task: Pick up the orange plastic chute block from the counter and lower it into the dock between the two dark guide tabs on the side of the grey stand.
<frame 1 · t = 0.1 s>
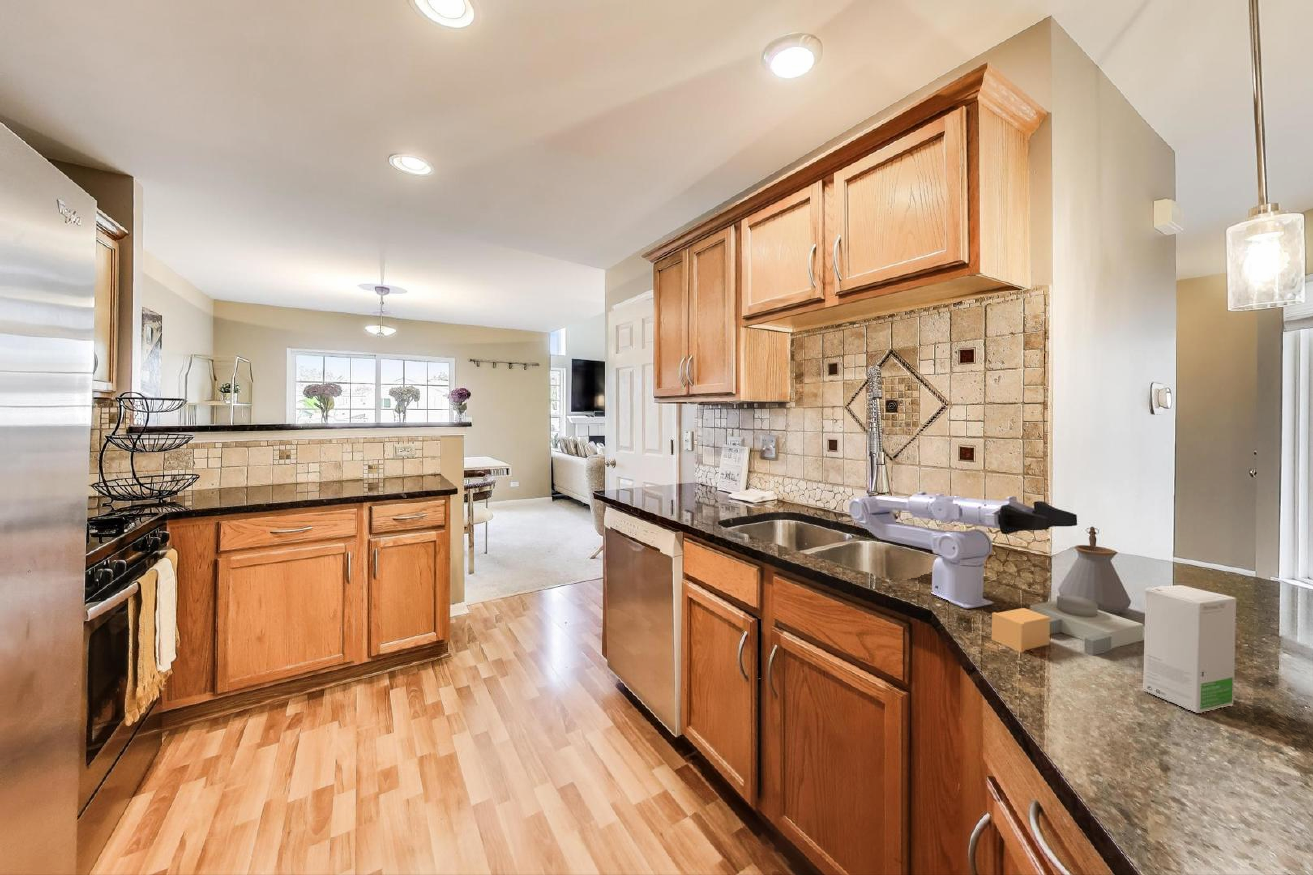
hand: (1061, 521, 88), 22 cm above the countertop, tool horizontal, fingers open, 7 cm apart
grey stand: (1083, 629, 92), on the countertop
chute: (1022, 641, 87), on the countertop
skincare box: (1185, 699, 70), on the countertop
coffee pot: (1092, 602, 106), on the countertop
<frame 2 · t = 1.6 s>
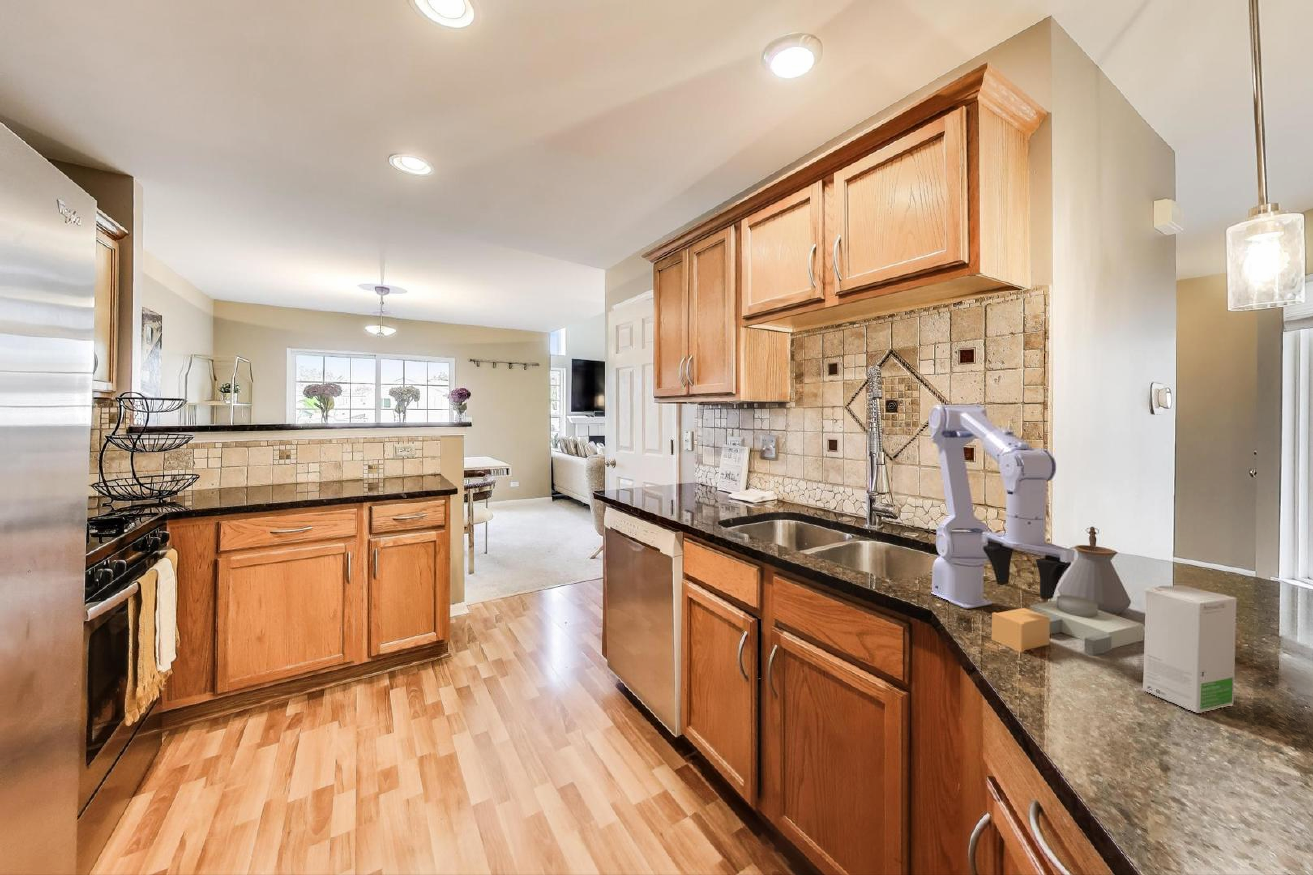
hand: (1023, 590, 87), 9 cm above the countertop, tool pointing down, fingers open, 7 cm apart
nothing on the countertop moved.
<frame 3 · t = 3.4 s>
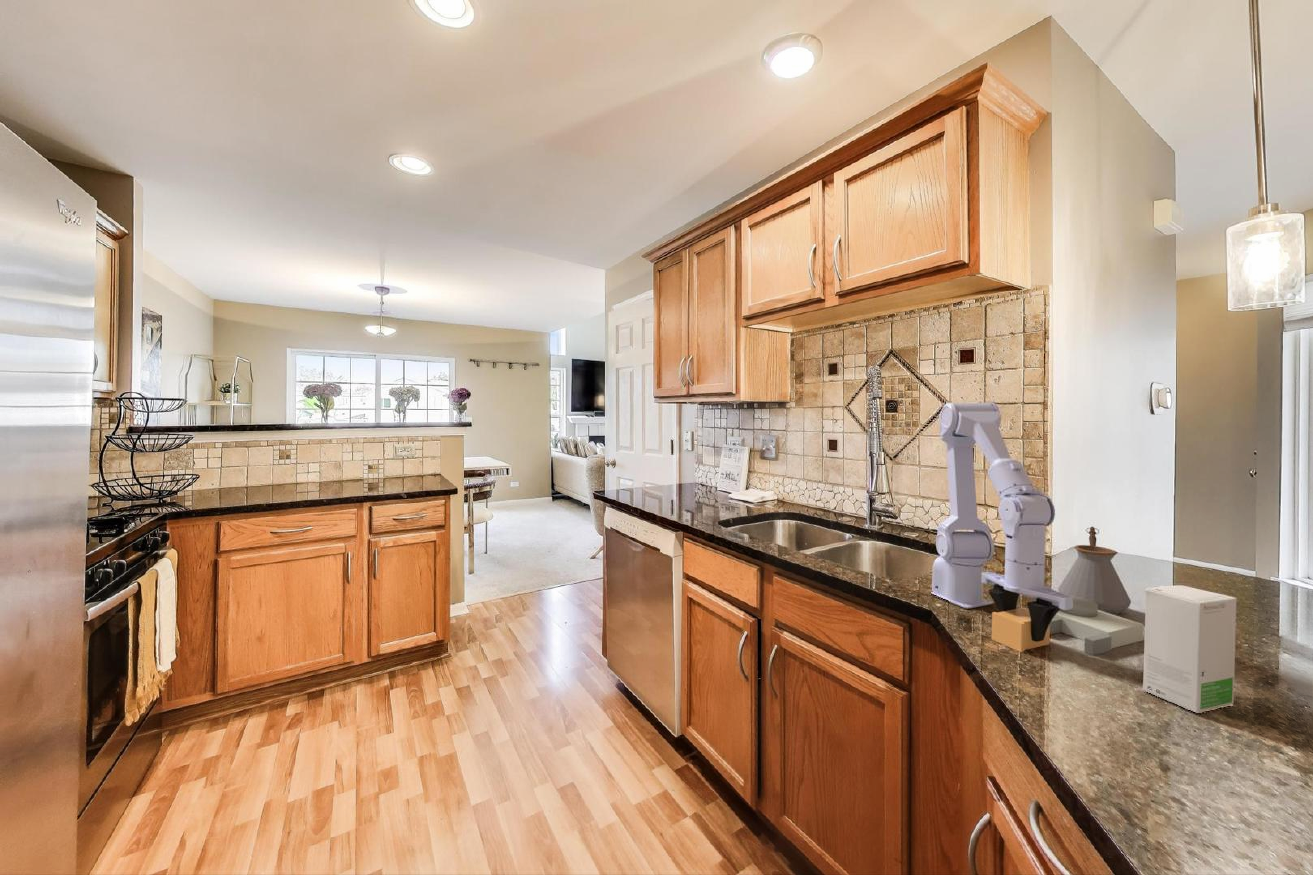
hand: (1022, 634, 87), 1 cm above the countertop, tool pointing down, fingers closed on chute, 4 cm apart
chute: (1022, 641, 87), on the countertop, touching gripper
everything else where it was.
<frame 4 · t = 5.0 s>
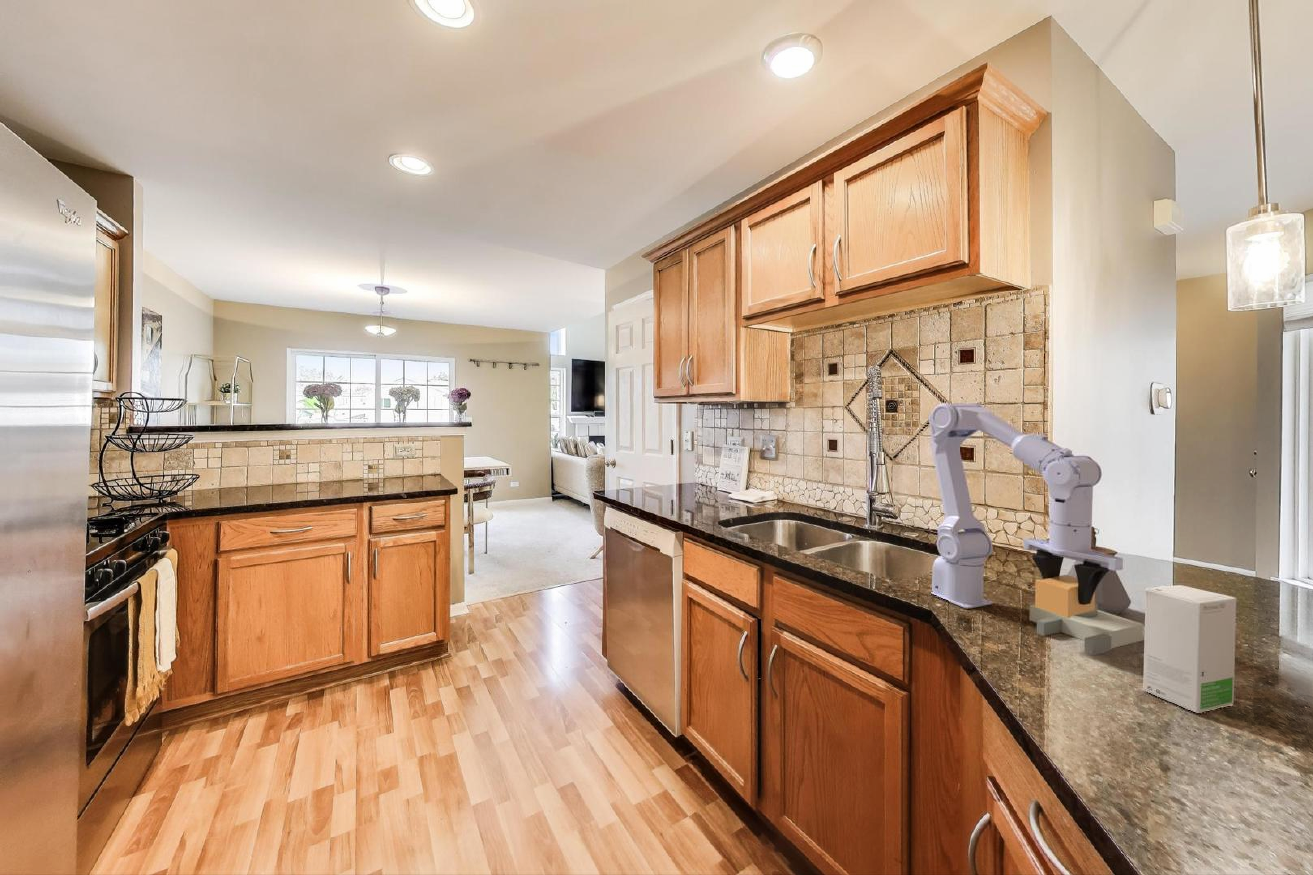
hand: (1068, 598, 87), 8 cm above the countertop, tool pointing down, fingers closed on chute, 4 cm apart
chute: (1067, 608, 87), point 6 cm above the countertop, touching gripper
everything else where it was.
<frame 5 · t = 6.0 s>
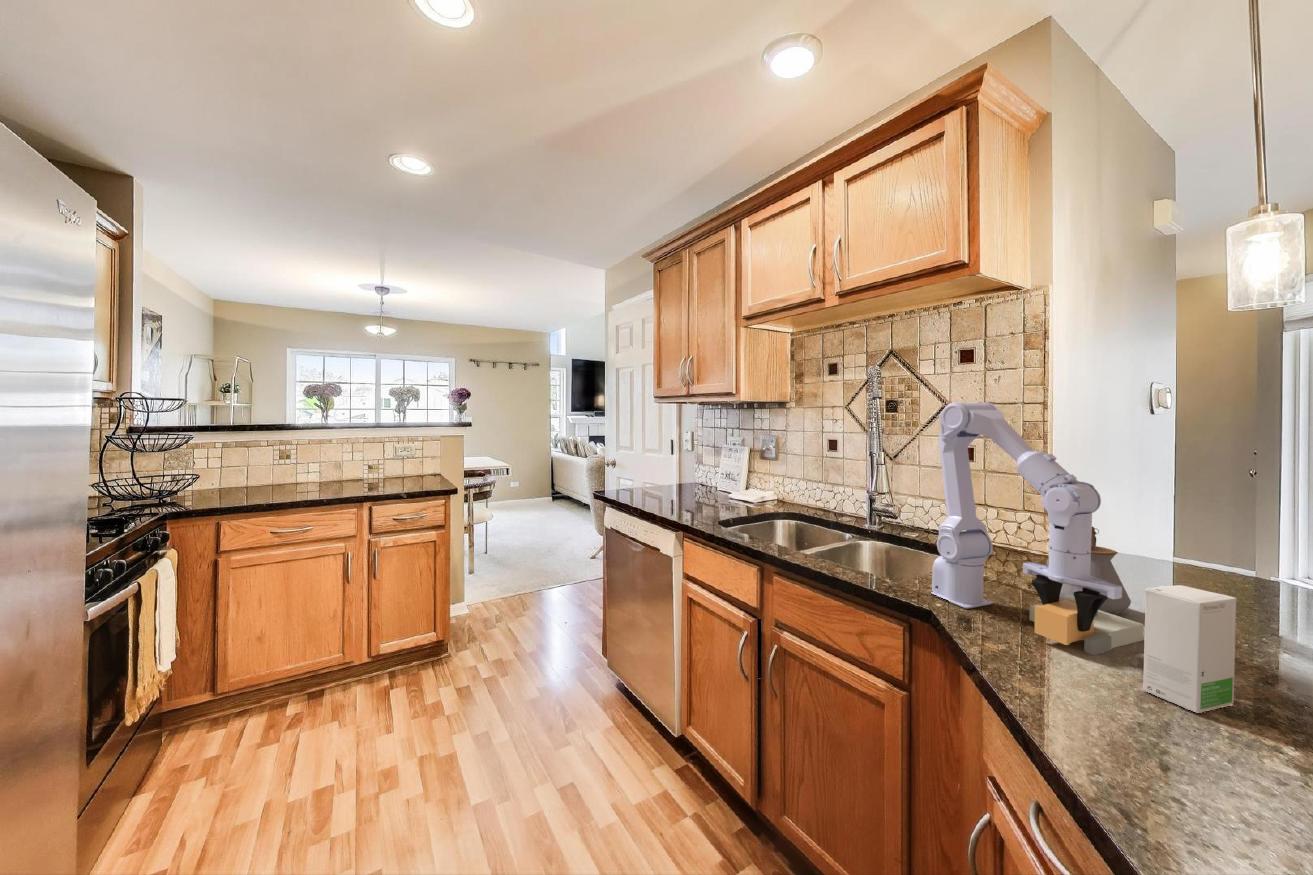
hand: (1067, 624, 87), 3 cm above the countertop, tool pointing down, fingers closed on chute, 4 cm apart
chute: (1066, 634, 87), point 2 cm above the countertop, touching gripper
everything else where it was.
when the fingers open (3 cm above the countertop, at t = 6.7 s): chute drops 2 cm, on the countertop.
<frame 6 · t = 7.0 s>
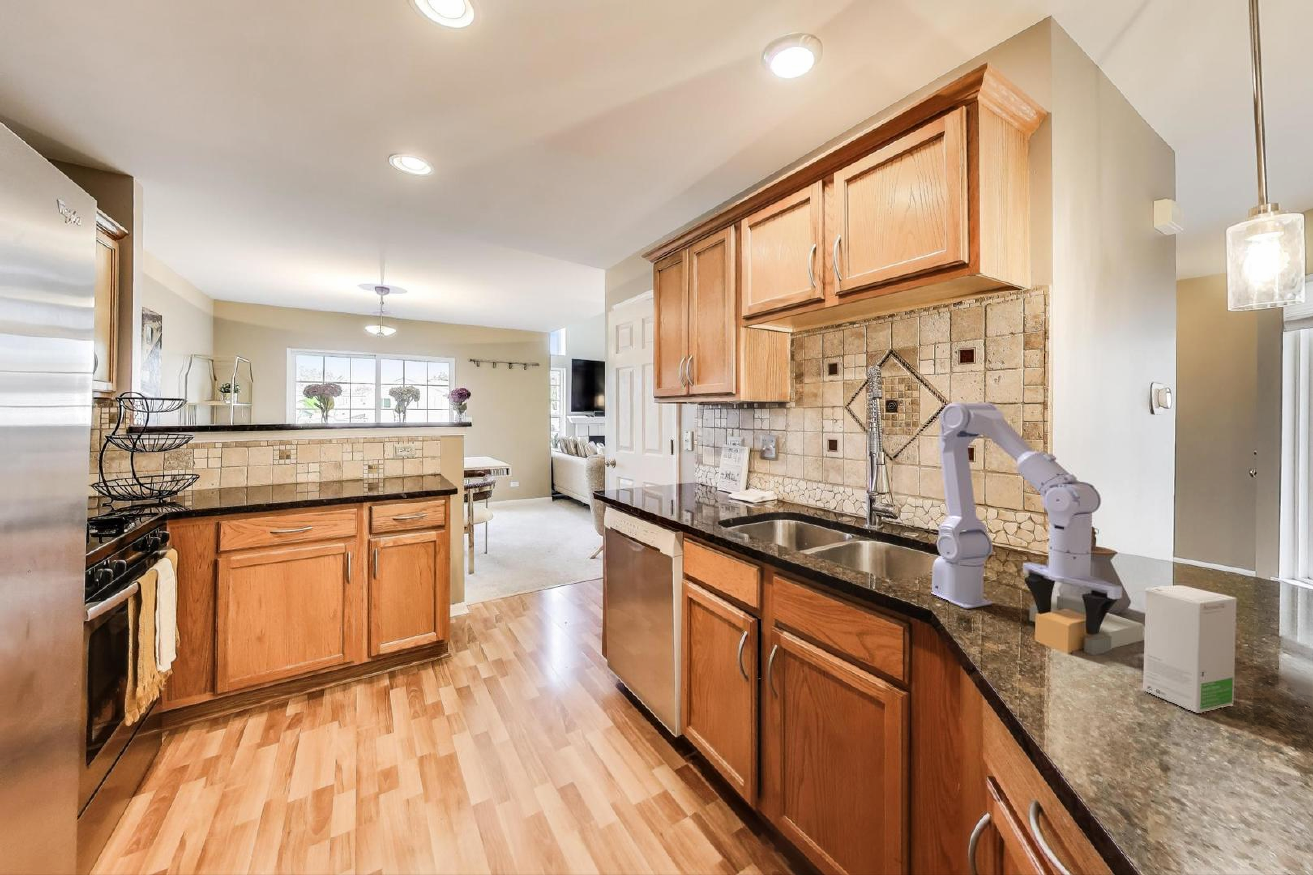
hand: (1067, 624, 87), 3 cm above the countertop, tool pointing down, fingers open, 7 cm apart
chute: (1066, 643, 87), on the countertop
everything else where it was.
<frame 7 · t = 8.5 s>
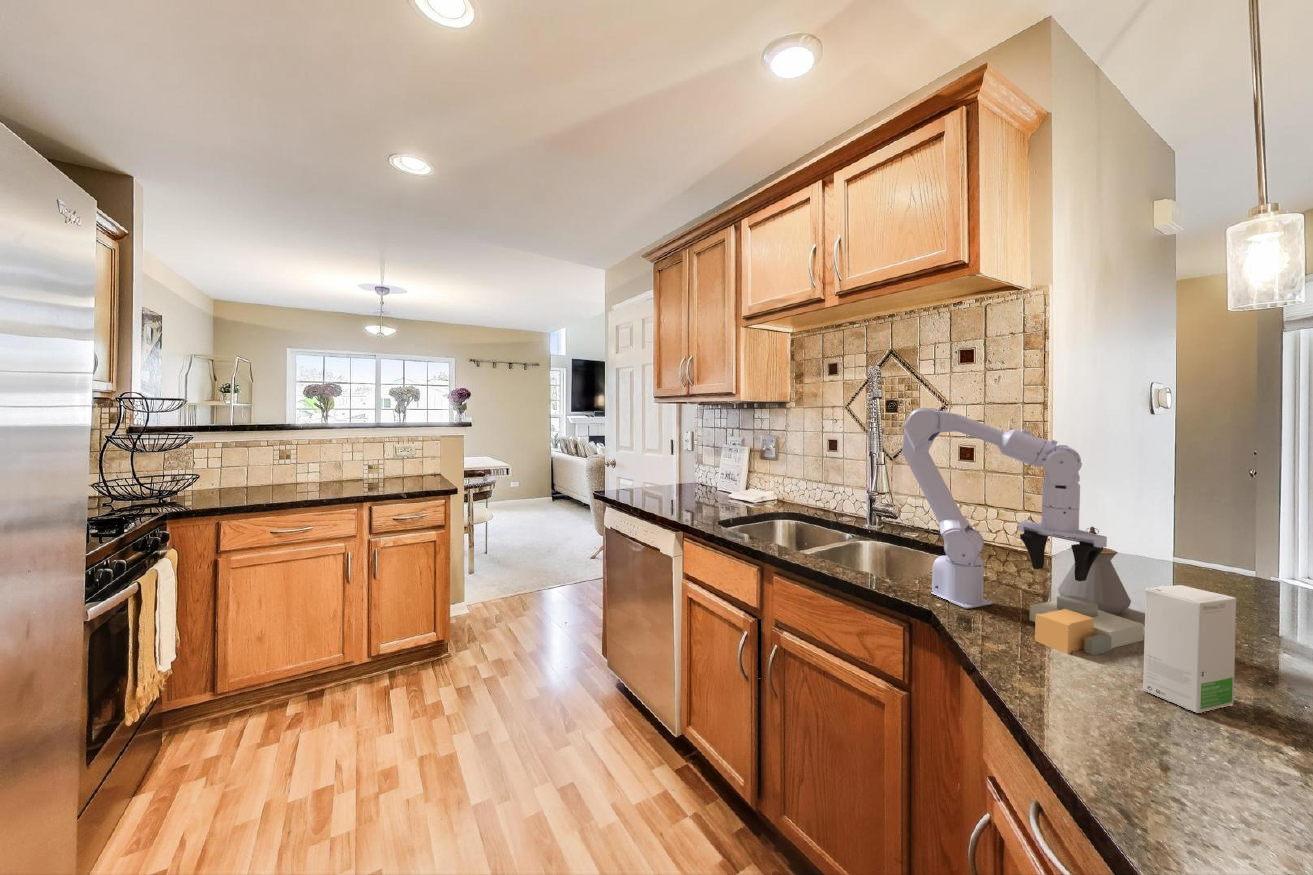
hand: (1058, 574, 96), 9 cm above the countertop, tool pointing down, fingers open, 7 cm apart
nothing on the countertop moved.
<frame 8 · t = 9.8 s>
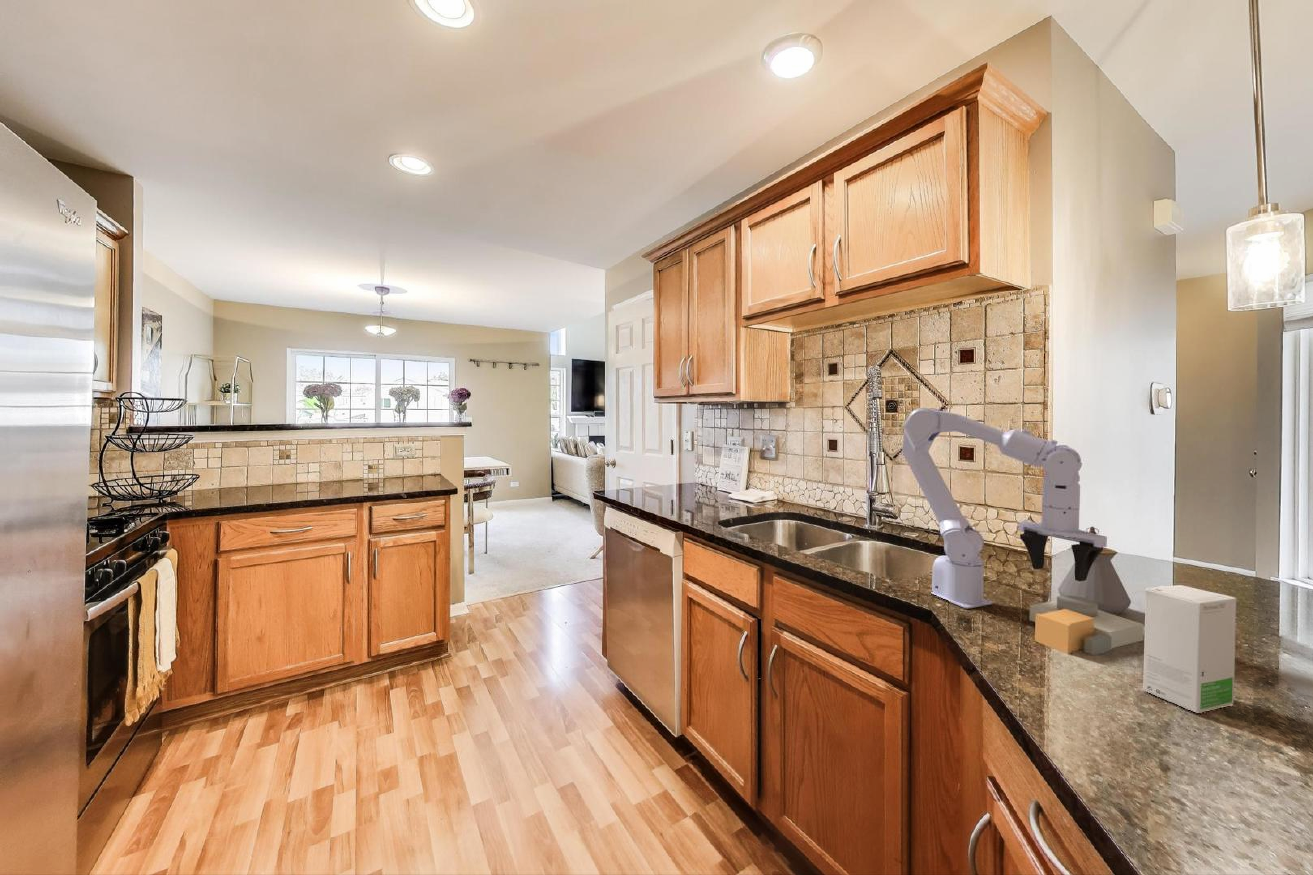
hand: (1058, 574, 96), 9 cm above the countertop, tool pointing down, fingers open, 7 cm apart
nothing on the countertop moved.
at the end: chute 0.1 cm from the target spot, on the countertop; chute tilted 0°; the gripper is holding nothing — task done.
